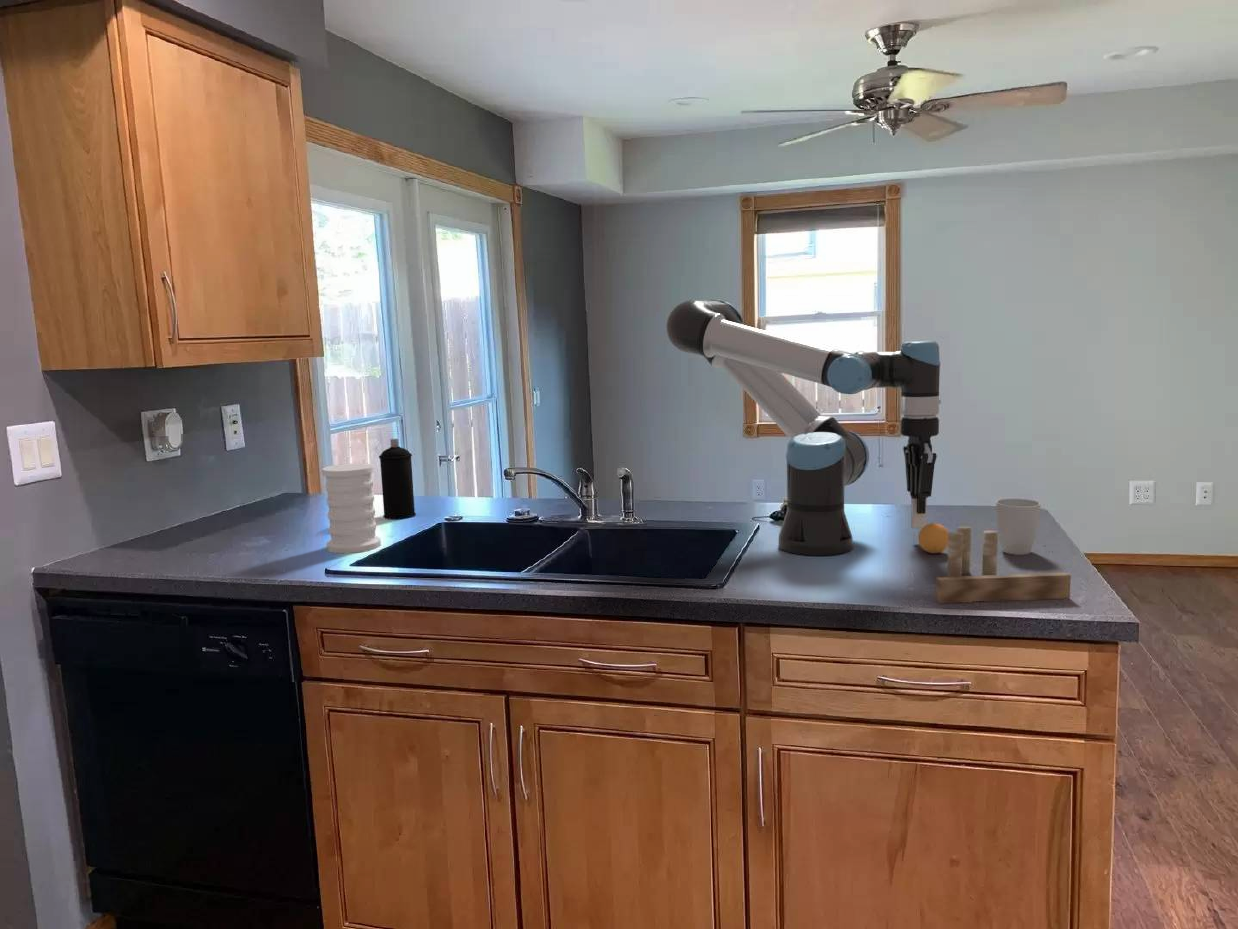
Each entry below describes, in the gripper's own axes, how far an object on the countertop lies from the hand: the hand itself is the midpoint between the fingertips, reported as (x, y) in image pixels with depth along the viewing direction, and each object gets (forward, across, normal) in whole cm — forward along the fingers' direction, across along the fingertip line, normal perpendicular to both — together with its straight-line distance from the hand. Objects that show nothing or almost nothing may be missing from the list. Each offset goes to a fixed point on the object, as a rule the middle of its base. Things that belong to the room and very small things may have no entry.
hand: (918, 527), depth 192 cm
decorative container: (+2, +14, +122) cm, 123 cm away
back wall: (+3, -40, 0) cm, 40 cm away
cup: (+3, -11, -16) cm, 19 cm away
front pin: (+3, -24, 0) cm, 24 cm away
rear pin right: (+3, -28, +4) cm, 28 cm away
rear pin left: (+3, -28, -3) cm, 28 cm away
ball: (0, -9, 0) cm, 9 cm away
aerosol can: (+2, +46, +118) cm, 127 cm away
